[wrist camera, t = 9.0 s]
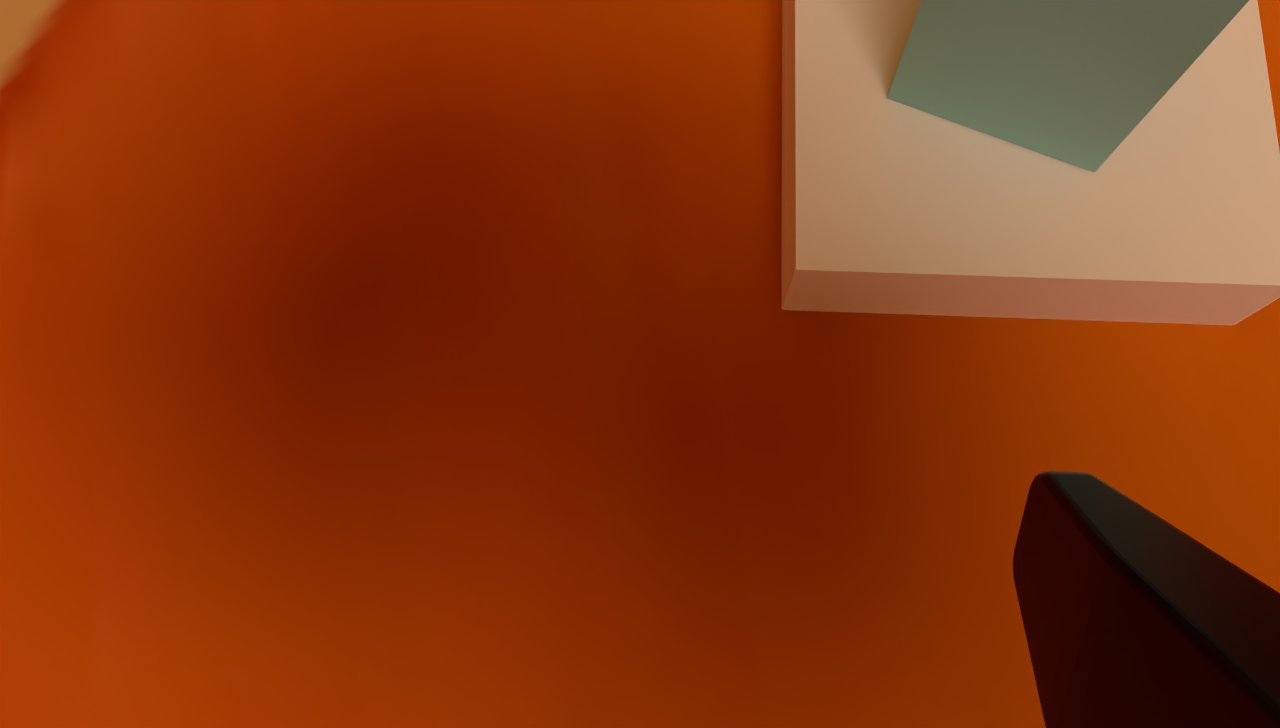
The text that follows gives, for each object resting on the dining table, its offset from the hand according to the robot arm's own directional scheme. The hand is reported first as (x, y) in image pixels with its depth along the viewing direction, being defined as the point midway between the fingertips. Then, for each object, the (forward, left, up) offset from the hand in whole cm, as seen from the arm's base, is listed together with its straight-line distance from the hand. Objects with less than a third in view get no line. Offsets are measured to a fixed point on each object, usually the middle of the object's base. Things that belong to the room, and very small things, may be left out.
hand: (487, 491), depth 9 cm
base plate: (+12, -9, -14) cm, 20 cm away
